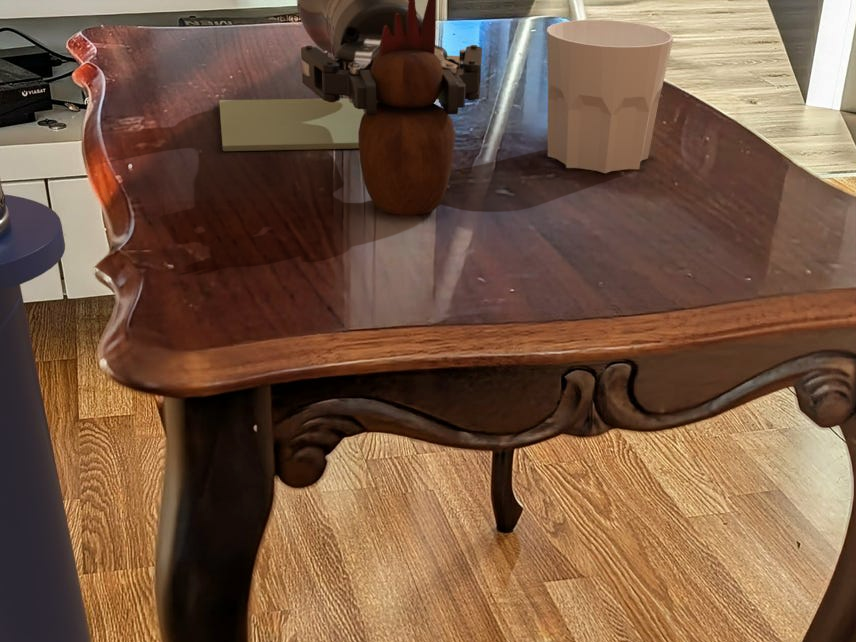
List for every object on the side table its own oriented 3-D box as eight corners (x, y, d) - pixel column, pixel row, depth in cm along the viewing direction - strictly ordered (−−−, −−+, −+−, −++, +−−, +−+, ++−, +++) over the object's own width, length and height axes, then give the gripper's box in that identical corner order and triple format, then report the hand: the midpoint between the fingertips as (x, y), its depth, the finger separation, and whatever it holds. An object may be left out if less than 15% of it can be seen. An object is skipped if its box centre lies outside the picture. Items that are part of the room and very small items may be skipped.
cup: (680, 169, 95) (697, 42, 90) (575, 181, 92) (586, 50, 86) (617, 135, 103) (630, 17, 97) (518, 146, 99) (525, 23, 93)
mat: (222, 151, 95) (222, 145, 94) (219, 105, 106) (219, 99, 106) (391, 147, 97) (391, 141, 97) (371, 103, 108) (370, 97, 108)
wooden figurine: (455, 198, 87) (460, -17, 79) (448, 225, 83) (453, -1, 74) (366, 192, 87) (362, -22, 79) (355, 219, 83) (349, -6, 74)
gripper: (286, -9, 88) (304, 42, 75) (469, -9, 91) (518, 41, 77) (291, 92, 92) (309, 158, 79) (466, 90, 95) (512, 153, 81)
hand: (412, 99), depth 78 cm, fingers closed on wooden figurine, 5 cm apart
